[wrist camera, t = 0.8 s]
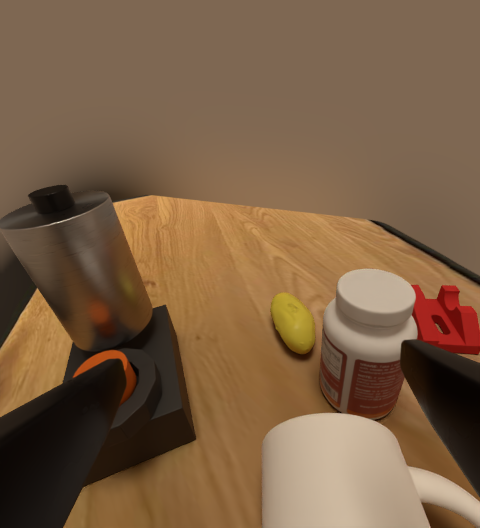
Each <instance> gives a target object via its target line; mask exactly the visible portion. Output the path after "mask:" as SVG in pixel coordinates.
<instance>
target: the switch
mask: <svg viewBox="0 0 480 528" xmlns="http://www.w3.org/2000/svg"><path fill="white" fill-rule="evenodd" d="M115 358H119V359H121V360H122V362H123V366H124V370H125V374H126V378H127V386H126V389H125V392H124V394H123V397H122V400H121V402H120V405H119V406H121V405H122V404H123V403H124V402H125V401H126V400H128V399H129V397H130V396H131V395H132V393H133V391H134V389H135V386H136V381H137V379H136V374H135V372H134V371H133V369H132V367H131V365H130V363H129V361H128V359H127V357H126V356H125V354H123V353H122V352H120V351H117V350H108V351H104V352H101V353H98V354H96V355H94V356H92V357H91V358H89V359H88V360H86V361H85V362H84V363H83V364H82V365H81V366H80V367H79V368H78V369H77V371H76V372H75V374H74V376H73V378H74V377H76V376H77V375H79V374H81V373H83V372H85V371H87V370H88V369H90V368H92V367H94V366H96V365H98V364H99V363H101V362H103V361H105V360H107V359H115Z"/></svg>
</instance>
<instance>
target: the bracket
mask: <svg viewBox="0 0 480 528" xmlns="http://www.w3.org/2000/svg"><path fill="white" fill-rule="evenodd" d="M411 286H412V287H413V289H414V291H415V295H416V300H415V304H414V307H413V312H412V317H413V318H414V320H415V323H416V326H417V331H418V335H417V339H418V340H421V341H423V342H426V343H428V344H431V345H434V346H436V347H439V348H441V349H444V350H447V351H449V352H452V353H465V354H479V352H480V329H479V324H478V318H477V313H476V312H475V310H474V309H473V308H472V306H460V304H459V299H458V296H459V292H460V291H459V290H458V288H457V287H456V286H444V285H442V286H441V289H440V292H439V294H438V297H437V299H425V296H424V294H423V292H422V291H421V289H420V287H419V285H411ZM434 322H435V323H437V324H438V325H439V326H440V328H441V329H442V331H443V333H444V334H442V333H441V332H439V330H438V329H437V327H436V325H435V323H434Z"/></svg>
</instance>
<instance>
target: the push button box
mask: <svg viewBox="0 0 480 528" xmlns="http://www.w3.org/2000/svg"><path fill="white" fill-rule="evenodd" d="M109 350H117V351H120V352H122V353H123V354H125V356H126V357H127V359H128V361H129V363H130V365H131V367H132V369H133V371H134V372H135V374H136V379H137V381H136V386H135V389H134V391H133V393H132V395H131V396H130V397H129V399H128V400H126V401H125V402H124V403H123V404H122V405H121V406H119V408H118V410H117V413H116V416H115V418H114V421H113V424H112V426H111V429H110V431H109V434H108V436H107V438H106V440H105V442H104V444H103V446H102V448H101V450H100V452H99V455H98V457H97V459H96V461H95V463H94V465H93V467H92V469H91V471H90V473H89V475H88V477H87V479H86V481H85V483H84V485H83V486H86V485H88V484H90V483H93V482H95V481H98V480H100V479H102V478H105V477H107V476H109V475H112V474H114V473H117V472H119V471H121V470H124V469H126V468H129V467H131V466H133V465H136V464H138V463H141V462H143V461H145V460H148V459H150V458H153V457H155V456H157V455H160V454H162V453H165V452H167V451H169V450H172V449H174V448H177V447H179V446H181V445H184V444H186V443H188V442H191V441H193V440H195V439H196V437H195V432H194V426H193V421H192V416H191V410H190V405H189V400H188V394H187V389H186V384H185V378H184V373H183V368H182V362H181V357H180V352H179V346H178V341H177V336H176V332H175V330H174V327H173V324H172V321H171V318H170V315H169V312H168V310H167V307H166V305H163V306H159V307H156V308H153V313H152V317H151V319H150V321H149V323H148V324H147V326H146V327H145V328H144V329H143V330H142V331H141V332H140V333H139V334H138V335H137V336H135V337H134V338H132V339H131V340H129V341H128V342H126V343H124V344H122V345H120V346H118V347H115V348H112V349H109ZM104 351H108V350H104ZM104 351H97V352H91V351H85V350H82V349H80V348H78V347H77V346H76V345H75V343H74V342H73V344H72V348H71V352H70V356H69V360H68V364H67V368H66V372H65V376H64V380H63V383H65V382H66V381H68V380H70V379H72V378H73V376H74V374H75V372H76V371H77V369H78V368H79V367H80V366H81V365H82V364H83V363H84V362H85V361H86V360H88V359H89V358H91V357H92V356H94V355H96V354H98V353H101V352H104Z"/></svg>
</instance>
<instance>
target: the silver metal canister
mask: <svg viewBox="0 0 480 528" xmlns="http://www.w3.org/2000/svg"><path fill="white" fill-rule="evenodd" d="M28 197H29V199H30V201H31V202H32V204H29V205H27V206H24V207H22V208H19V209H17V210H15V211H13V212H11V213H9V214H8V215H6V216H4V217H3V218H2V219H1V220H0V231H1V233H2V235H3V236H4V238H5V239H6V241H7V242H8V244H9V245H10V247H11V248H12V250H13V251H14V253H15V254H16V256H17V257H18V259H19V260H20V262H21V263H22V265H23V266H24V268H25V269H26V271H27V272H28V274H29V276H30V277H31V278H32V280H33V282H34V283H35V285H36V286H37V288H38V289H39V291H40V292H41V294H42V295H43V297H44V298H45V300H46V301H47V303H48V304H49V306H50V307H51V309H52V310H53V312H54V313H55V315H56V316H57V318H58V319H59V321H60V322H61V324H62V325H63V327H64V328H65V330H66V331H67V333H68V334H69V336H70V337H71V339H72V340H73V342H74V343H75V345H76V346H77V347H78V348H80V349H82V350H85V351H91V352H97V351H104V350H109V349H112V348H115V347H118V346H120V345H122V344H124V343H126V342H128V341H129V340H131V339H132V338H134V337H135V336H137V335H138V334H139V333H140V332H141V331H142V330H143V329H144V328H145V327H146V326H147V324H148V323H149V321H150V319H151V317H152V313H153V308H152V304H151V302H150V299H149V296H148V294H147V291H146V289H145V286H144V284H143V281H142V278H141V276H140V273H139V271H138V268H137V265H136V263H135V260H134V258H133V255H132V253H131V250H130V247H129V245H128V242H127V240H126V237H125V234H124V232H123V229H122V227H121V224H120V221H119V219H118V216H117V214H116V211H115V209H114V206H113V203H112V201H111V198H110V196H109V195H108V193H106V192H102V191H83V192H76V193H71V192H70V190H69V187H68V186H66V185H57V186H52V187H47V188H43V189H40V190H37V191H34V192H32V193H30V194H29V195H28Z"/></svg>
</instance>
